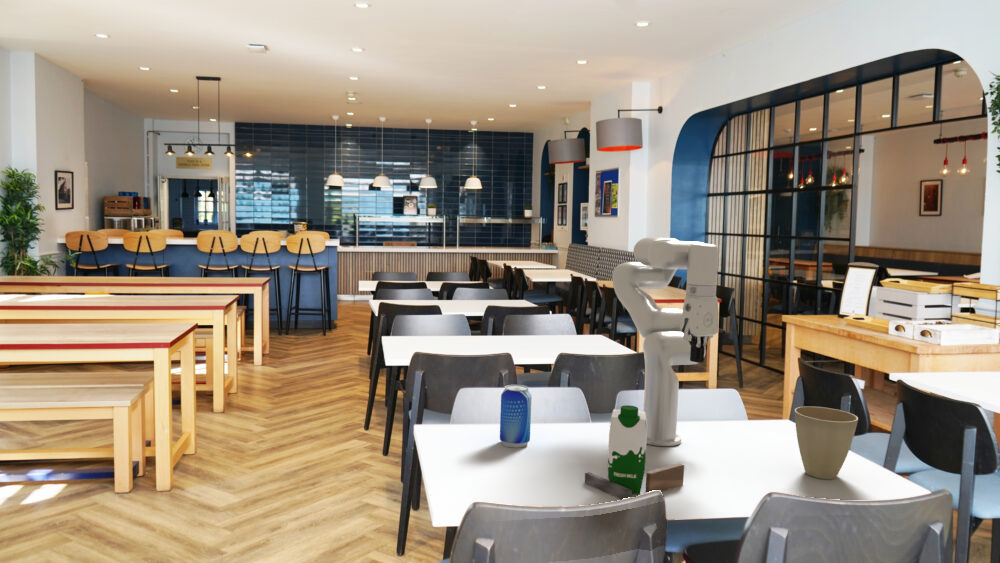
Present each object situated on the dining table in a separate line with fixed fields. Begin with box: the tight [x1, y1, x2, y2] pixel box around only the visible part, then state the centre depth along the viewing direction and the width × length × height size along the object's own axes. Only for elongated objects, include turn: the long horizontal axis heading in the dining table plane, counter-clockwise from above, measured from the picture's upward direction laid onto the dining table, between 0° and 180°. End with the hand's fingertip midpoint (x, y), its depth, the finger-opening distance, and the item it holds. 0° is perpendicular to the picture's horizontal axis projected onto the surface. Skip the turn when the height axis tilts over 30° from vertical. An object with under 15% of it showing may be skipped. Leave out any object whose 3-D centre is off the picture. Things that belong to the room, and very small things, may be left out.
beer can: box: [499, 384, 532, 448], centre depth 211 cm, size 8×8×16 cm
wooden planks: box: [584, 463, 685, 500], centre depth 183 cm, size 14×20×5 cm
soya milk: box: [607, 404, 647, 495], centre depth 180 cm, size 9×9×20 cm
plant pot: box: [794, 406, 859, 480], centre depth 195 cm, size 15×15×16 cm
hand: (696, 361), depth 198 cm, fingers closed
